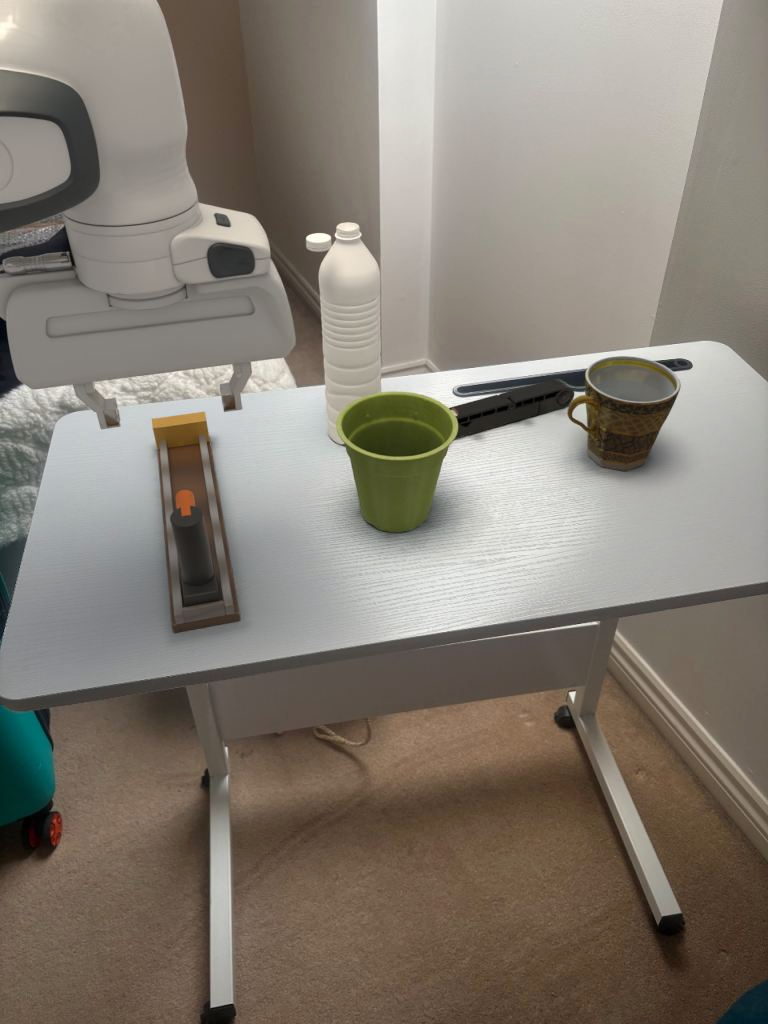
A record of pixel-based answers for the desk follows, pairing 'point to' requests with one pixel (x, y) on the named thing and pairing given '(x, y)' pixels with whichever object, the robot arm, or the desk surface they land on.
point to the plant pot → (396, 454)
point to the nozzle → (193, 552)
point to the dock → (180, 429)
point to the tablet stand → (512, 406)
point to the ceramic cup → (625, 409)
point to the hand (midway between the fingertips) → (172, 415)
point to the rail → (198, 475)
